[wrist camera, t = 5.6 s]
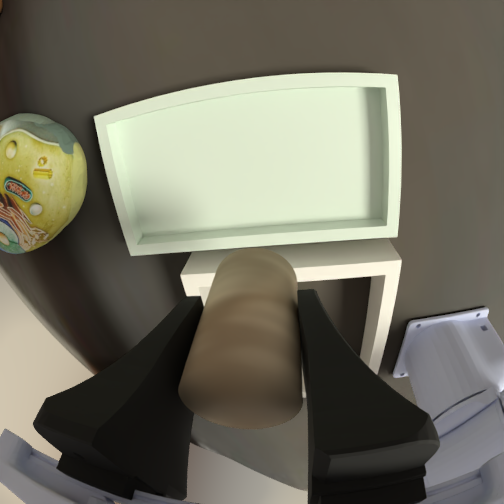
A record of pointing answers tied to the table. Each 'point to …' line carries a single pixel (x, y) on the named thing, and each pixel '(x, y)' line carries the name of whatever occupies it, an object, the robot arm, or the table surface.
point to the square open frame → (325, 268)
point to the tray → (257, 163)
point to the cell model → (38, 181)
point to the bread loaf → (247, 345)
